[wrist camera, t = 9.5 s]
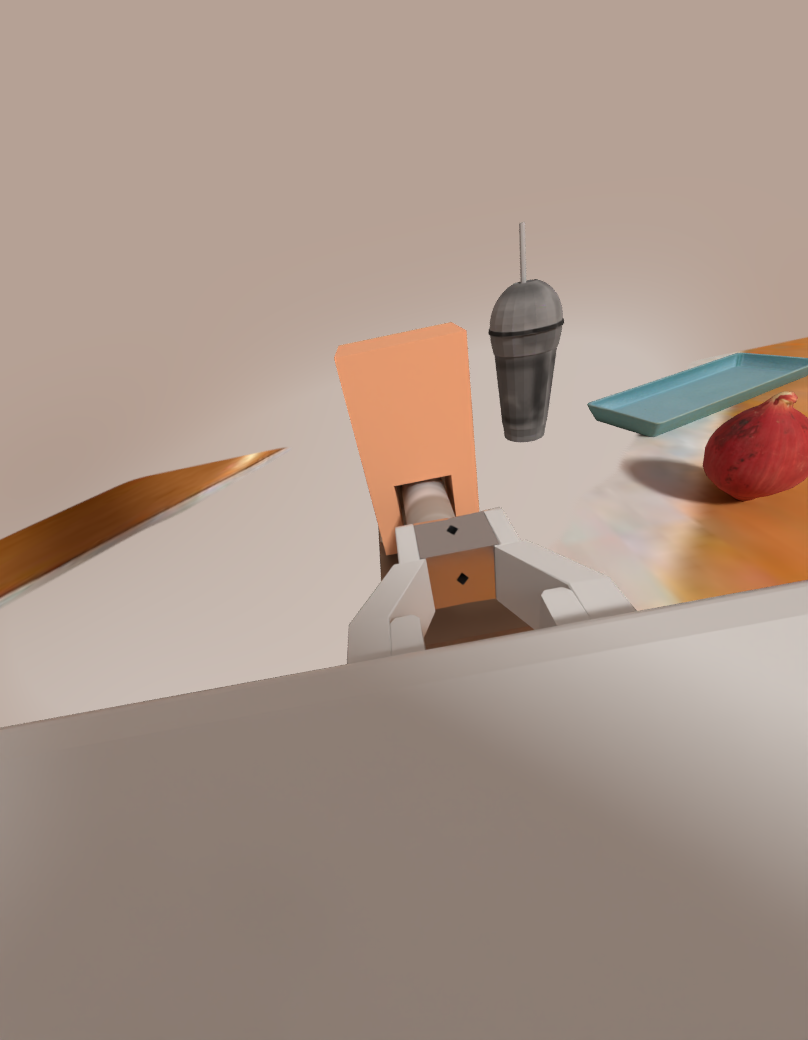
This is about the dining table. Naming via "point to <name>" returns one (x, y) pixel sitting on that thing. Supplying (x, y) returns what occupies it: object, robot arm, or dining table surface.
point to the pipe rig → (457, 620)
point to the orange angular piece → (411, 417)
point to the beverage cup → (525, 352)
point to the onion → (760, 450)
